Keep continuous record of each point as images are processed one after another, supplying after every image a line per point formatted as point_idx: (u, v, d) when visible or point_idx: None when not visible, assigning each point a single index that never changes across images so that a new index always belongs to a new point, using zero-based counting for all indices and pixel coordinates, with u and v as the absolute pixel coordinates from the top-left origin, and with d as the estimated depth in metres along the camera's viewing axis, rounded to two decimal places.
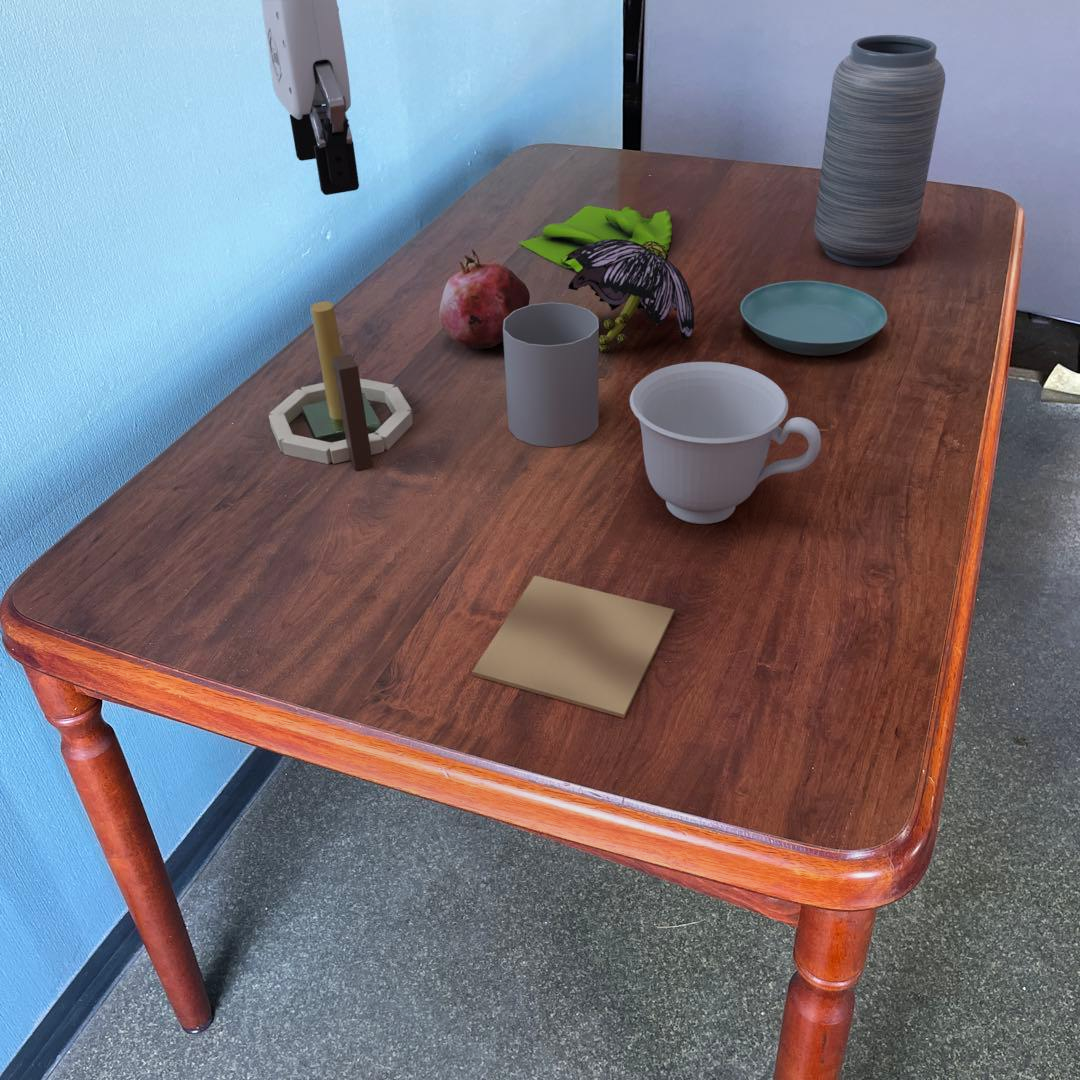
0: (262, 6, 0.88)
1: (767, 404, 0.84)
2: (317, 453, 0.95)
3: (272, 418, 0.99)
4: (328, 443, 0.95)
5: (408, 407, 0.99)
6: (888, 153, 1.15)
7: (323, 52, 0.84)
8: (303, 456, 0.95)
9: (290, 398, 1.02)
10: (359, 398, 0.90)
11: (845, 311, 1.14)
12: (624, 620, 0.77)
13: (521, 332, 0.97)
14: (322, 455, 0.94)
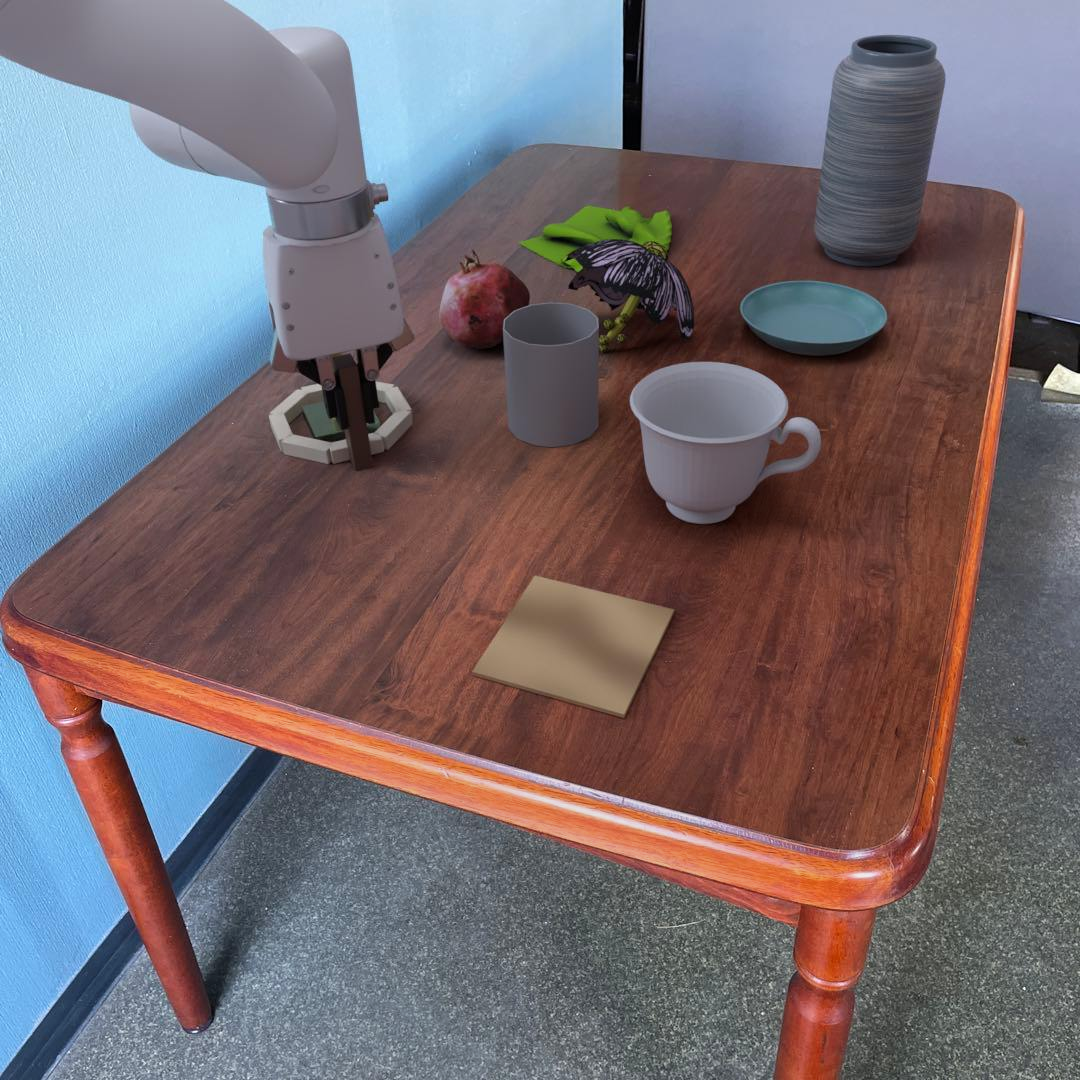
0: None
1: (767, 404, 0.84)
2: (317, 453, 0.95)
3: (272, 418, 0.99)
4: (328, 443, 0.95)
5: (408, 407, 0.99)
6: (888, 153, 1.15)
7: (270, 298, 0.83)
8: (303, 456, 0.95)
9: (290, 397, 1.02)
10: (359, 398, 0.90)
11: (845, 311, 1.14)
12: (624, 620, 0.77)
13: (521, 332, 0.97)
14: (322, 455, 0.94)
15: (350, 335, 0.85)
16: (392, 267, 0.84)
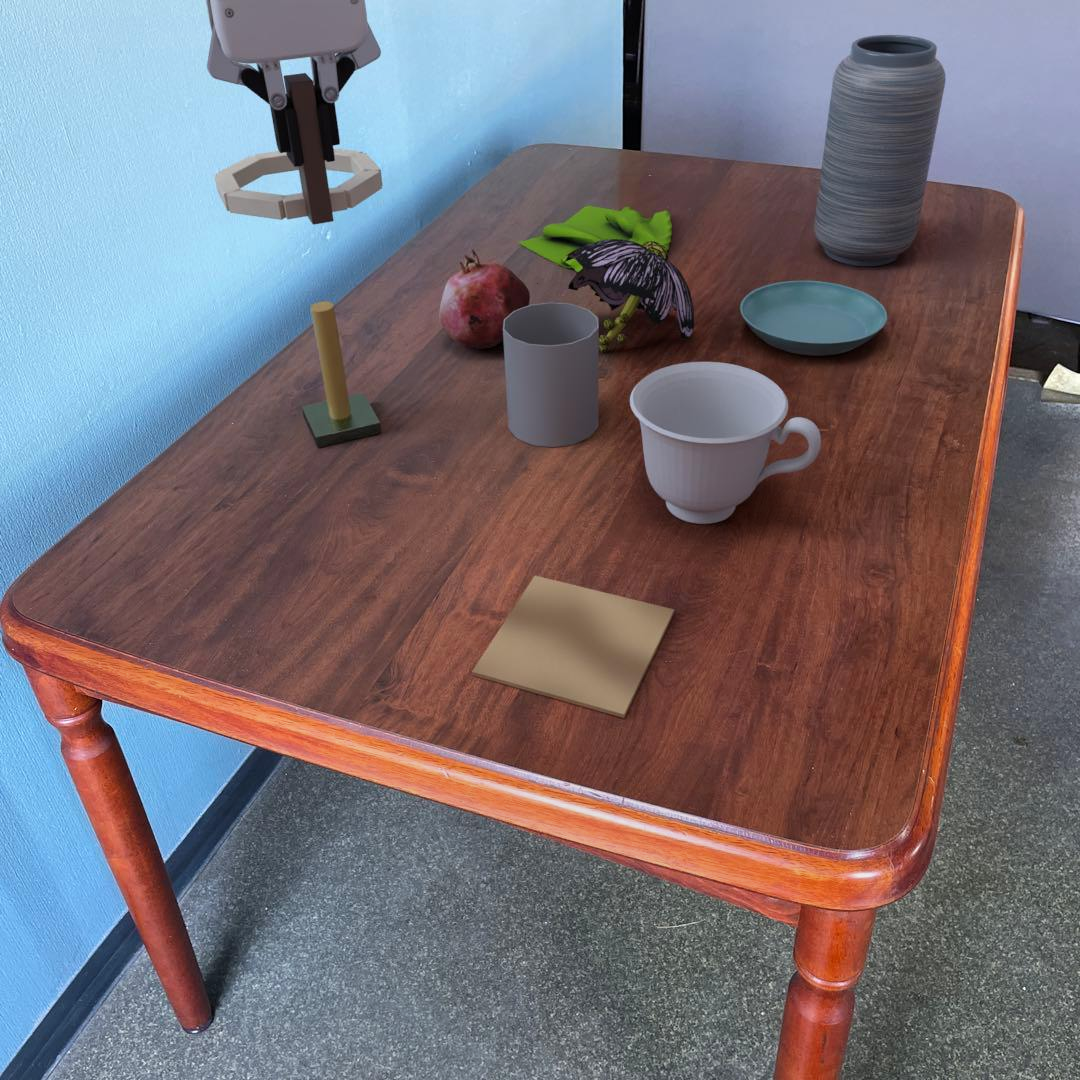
0: None
1: (767, 404, 0.84)
2: (268, 206, 0.81)
3: (218, 177, 0.85)
4: (281, 195, 0.81)
5: (377, 168, 0.86)
6: (888, 153, 1.15)
7: None
8: (252, 212, 0.82)
9: (241, 162, 0.88)
10: (316, 125, 0.76)
11: (845, 311, 1.14)
12: (624, 620, 0.77)
13: (521, 332, 0.97)
14: (274, 208, 0.81)
15: (303, 32, 0.71)
16: None
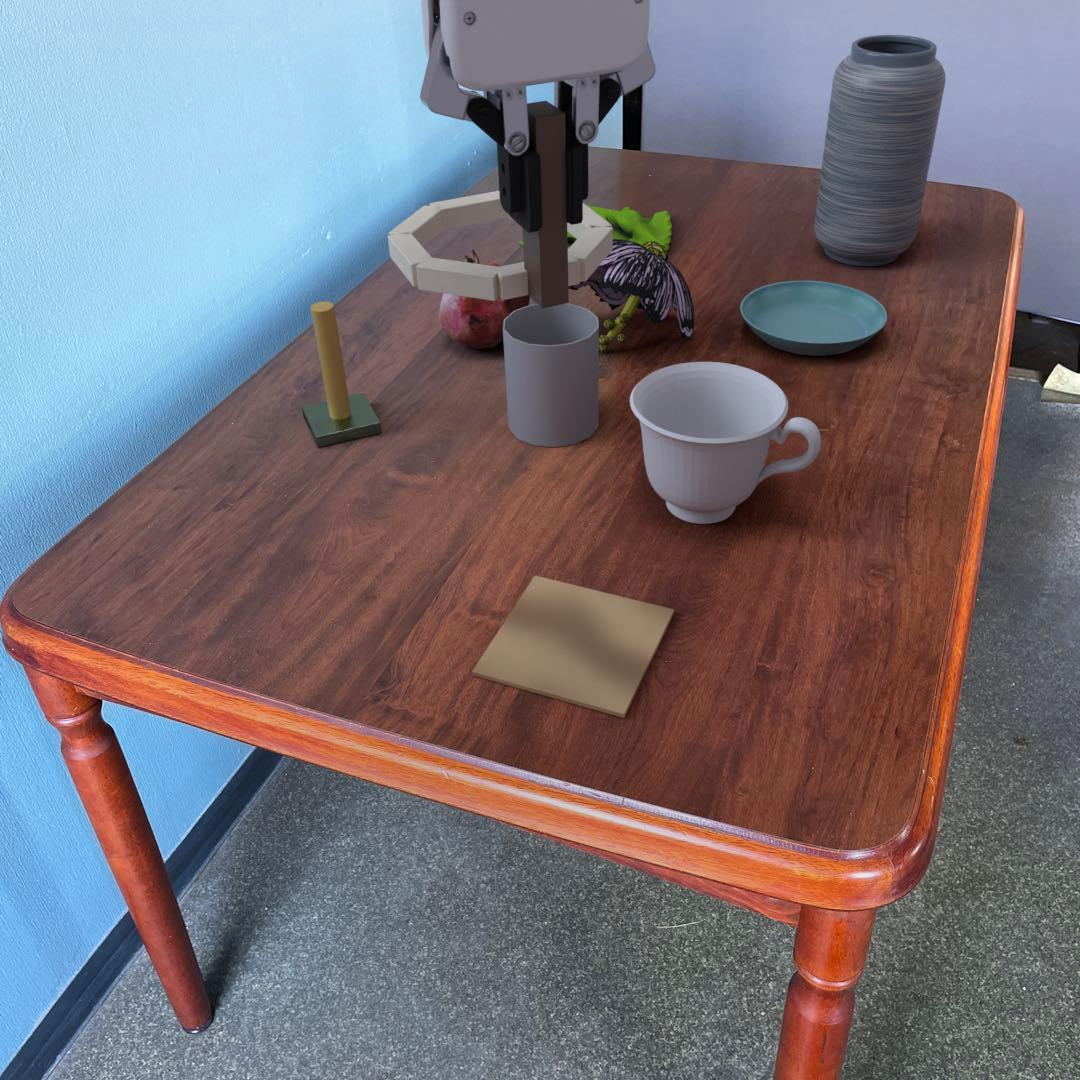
0: None
1: (767, 404, 0.84)
2: (477, 282, 0.58)
3: (394, 239, 0.63)
4: (493, 267, 0.59)
5: (606, 223, 0.63)
6: (888, 153, 1.15)
7: None
8: (452, 290, 0.59)
9: (416, 215, 0.65)
10: (562, 175, 0.54)
11: (845, 311, 1.14)
12: (624, 620, 0.77)
13: (521, 332, 0.97)
14: (485, 285, 0.58)
15: (566, 45, 0.49)
16: None
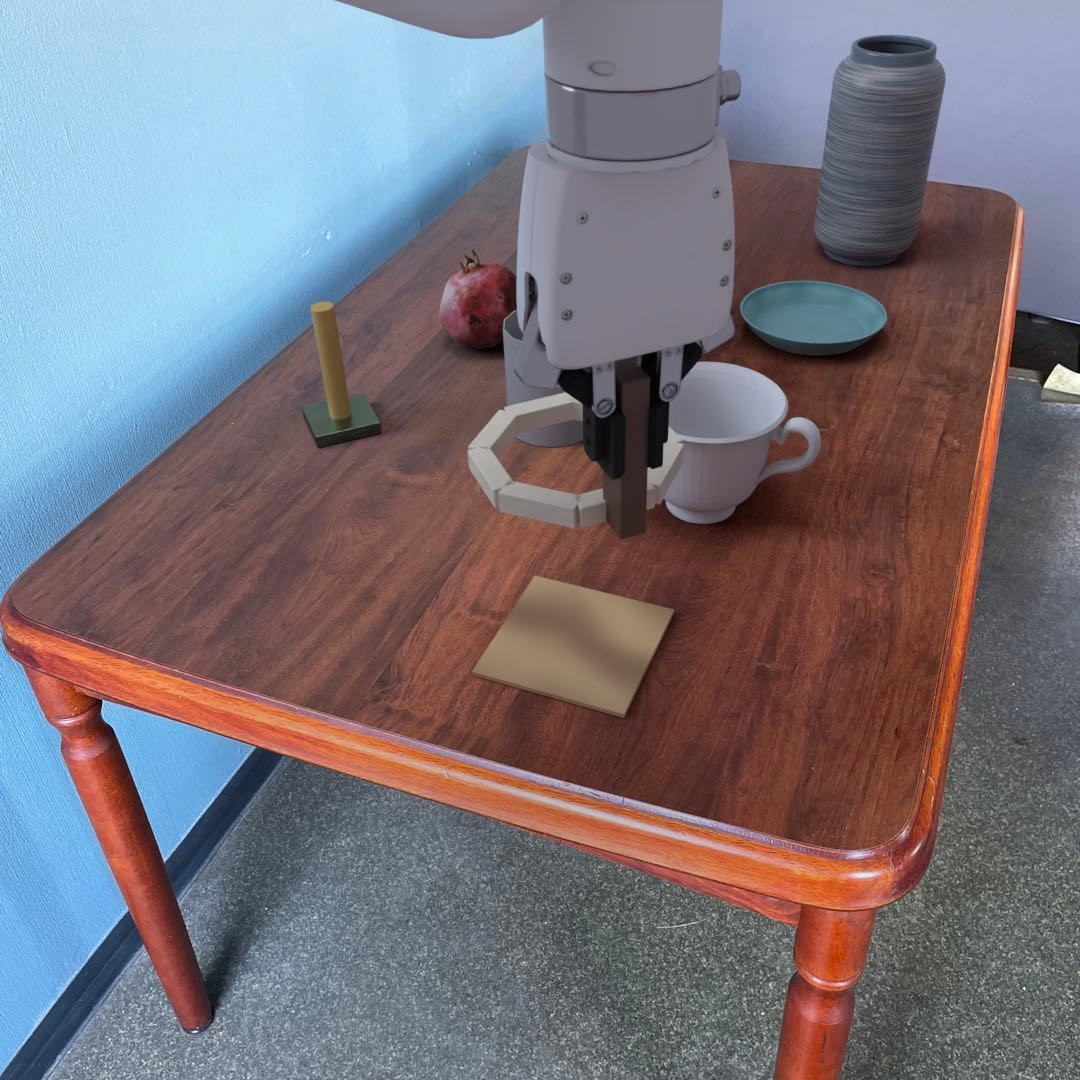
0: None
1: (767, 404, 0.84)
2: (558, 512, 0.61)
3: (474, 455, 0.65)
4: (573, 496, 0.61)
5: (677, 437, 0.66)
6: (888, 153, 1.15)
7: (533, 266, 0.50)
8: (533, 516, 0.62)
9: (493, 423, 0.68)
10: (645, 428, 0.56)
11: (845, 311, 1.14)
12: (624, 620, 0.77)
13: (521, 332, 0.97)
14: (566, 515, 0.61)
15: (655, 328, 0.52)
16: (733, 214, 0.50)
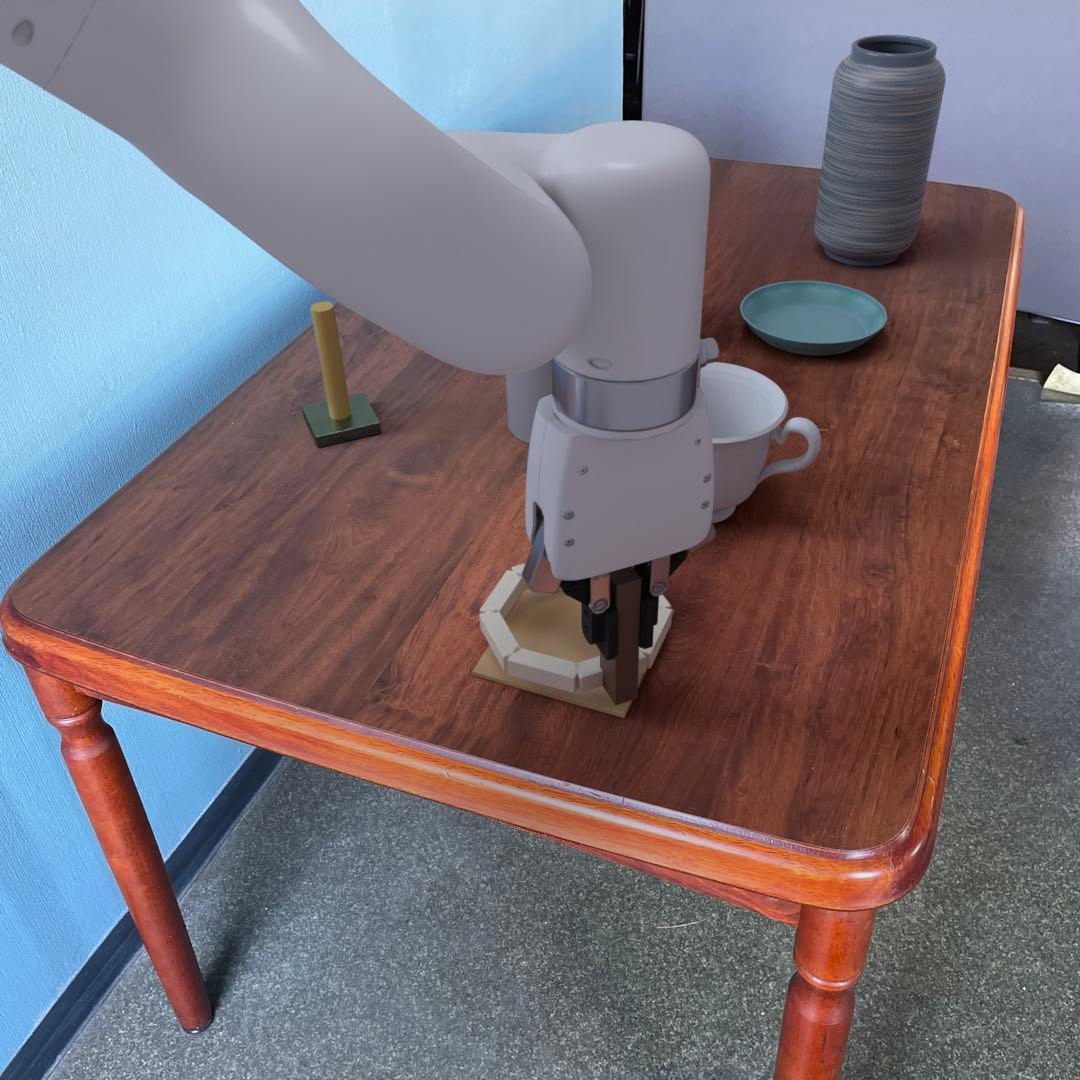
0: None
1: (767, 404, 0.84)
2: (560, 679, 0.69)
3: (485, 619, 0.73)
4: (573, 664, 0.69)
5: (666, 602, 0.74)
6: (888, 153, 1.15)
7: (540, 500, 0.58)
8: (538, 680, 0.70)
9: (502, 585, 0.76)
10: (636, 617, 0.64)
11: (845, 311, 1.14)
12: None
13: None
14: (567, 682, 0.69)
15: (645, 546, 0.60)
16: (712, 453, 0.58)
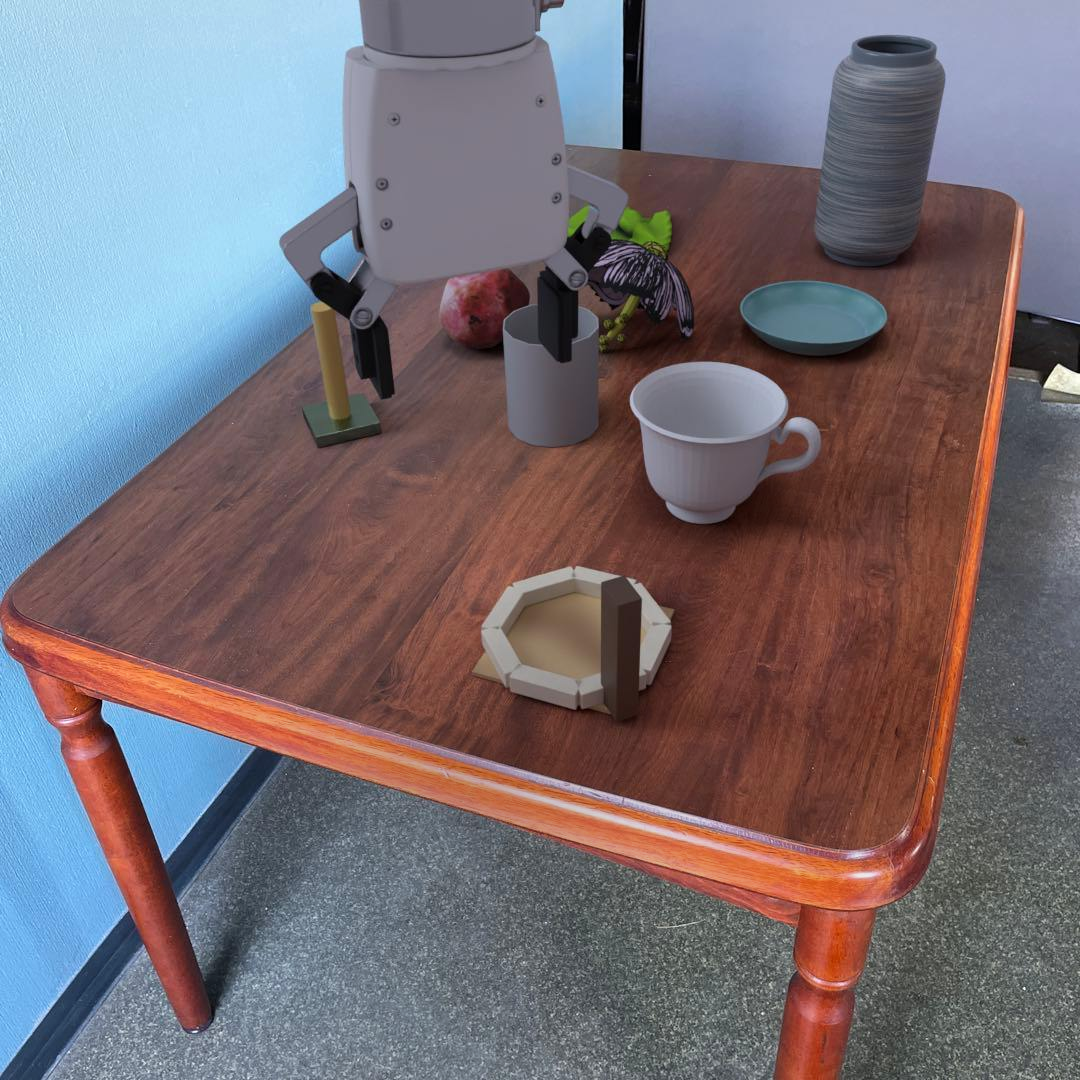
0: None
1: (767, 404, 0.84)
2: (561, 696, 0.70)
3: (487, 636, 0.74)
4: (574, 681, 0.70)
5: (666, 618, 0.75)
6: (888, 153, 1.15)
7: (352, 173, 0.48)
8: (539, 697, 0.71)
9: (503, 601, 0.77)
10: (637, 636, 0.65)
11: (845, 311, 1.14)
12: None
13: (521, 332, 0.97)
14: (568, 699, 0.70)
15: (484, 244, 0.50)
16: (562, 126, 0.49)
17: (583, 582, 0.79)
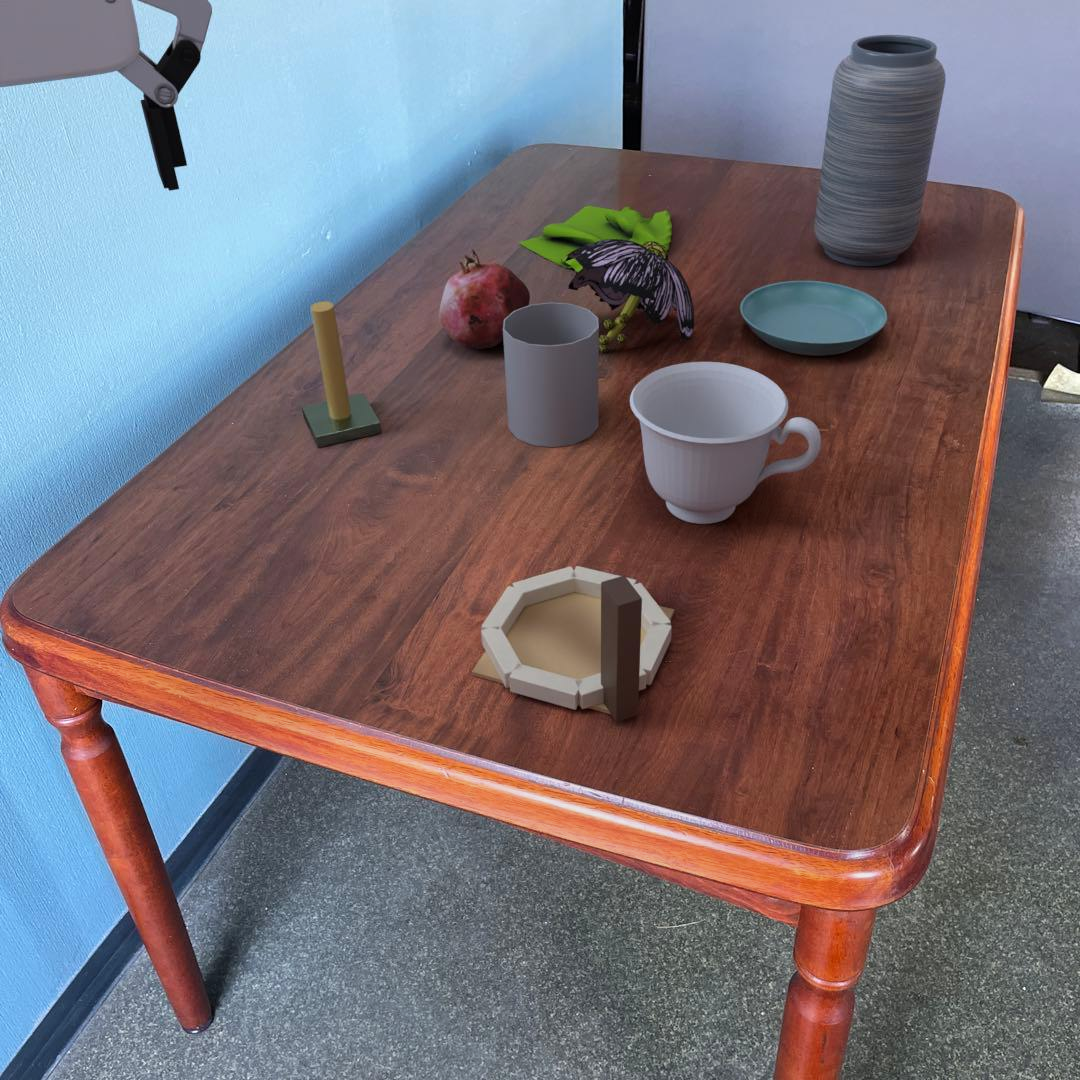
0: None
1: (767, 404, 0.84)
2: (561, 696, 0.70)
3: (487, 636, 0.74)
4: (574, 681, 0.70)
5: (666, 618, 0.75)
6: (888, 153, 1.15)
7: None
8: (539, 697, 0.71)
9: (503, 601, 0.77)
10: (637, 636, 0.65)
11: (845, 311, 1.14)
12: None
13: (521, 332, 0.97)
14: (568, 699, 0.70)
15: (33, 45, 0.48)
16: None
17: (583, 582, 0.79)
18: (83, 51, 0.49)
